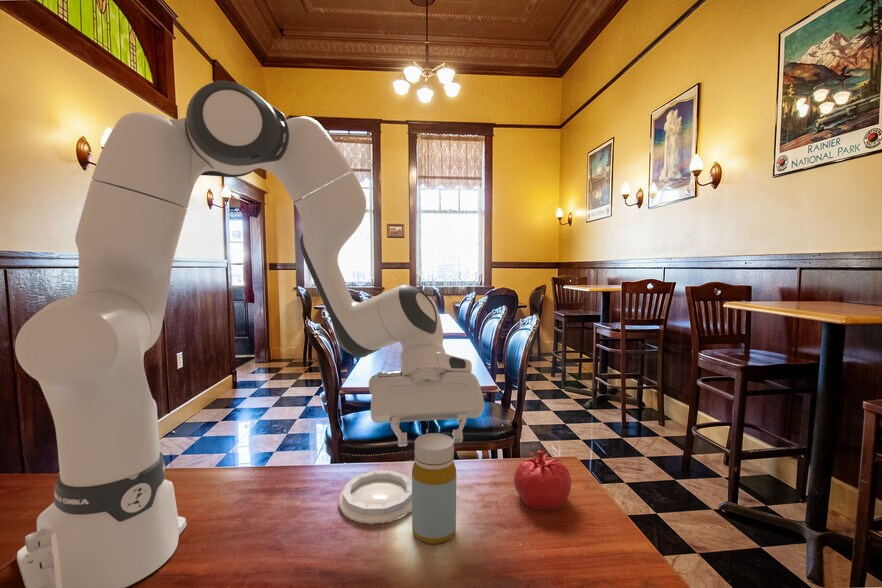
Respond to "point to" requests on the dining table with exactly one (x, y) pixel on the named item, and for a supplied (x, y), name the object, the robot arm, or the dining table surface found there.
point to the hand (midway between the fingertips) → (430, 443)
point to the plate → (376, 497)
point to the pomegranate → (542, 482)
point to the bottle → (434, 488)
